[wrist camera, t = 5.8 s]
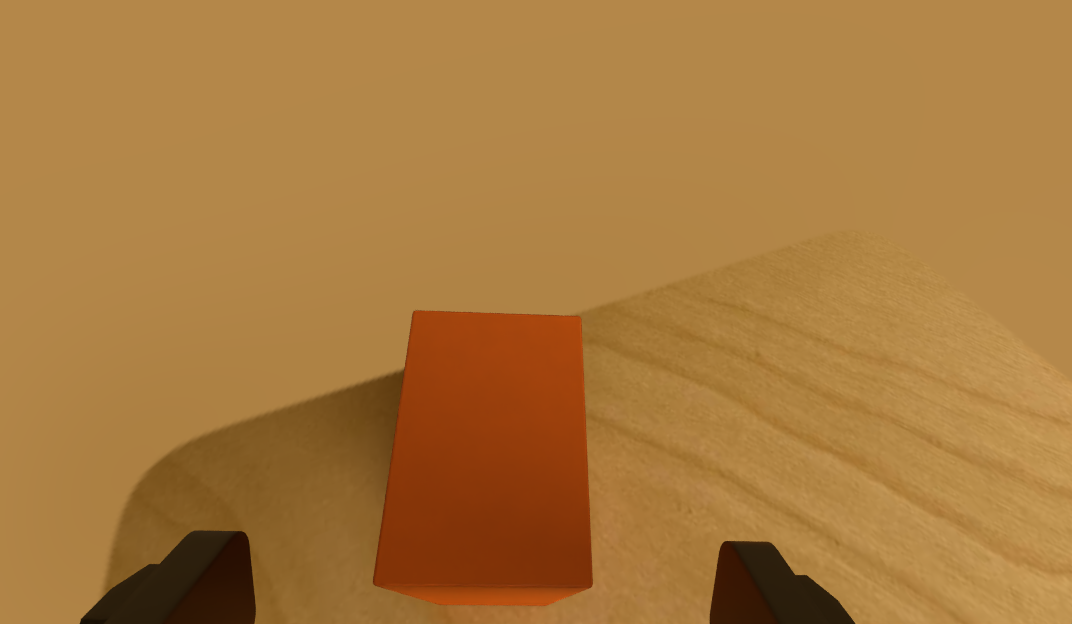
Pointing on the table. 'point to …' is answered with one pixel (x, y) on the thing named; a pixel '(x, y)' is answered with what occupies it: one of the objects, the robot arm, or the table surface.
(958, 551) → the table surface
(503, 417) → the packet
